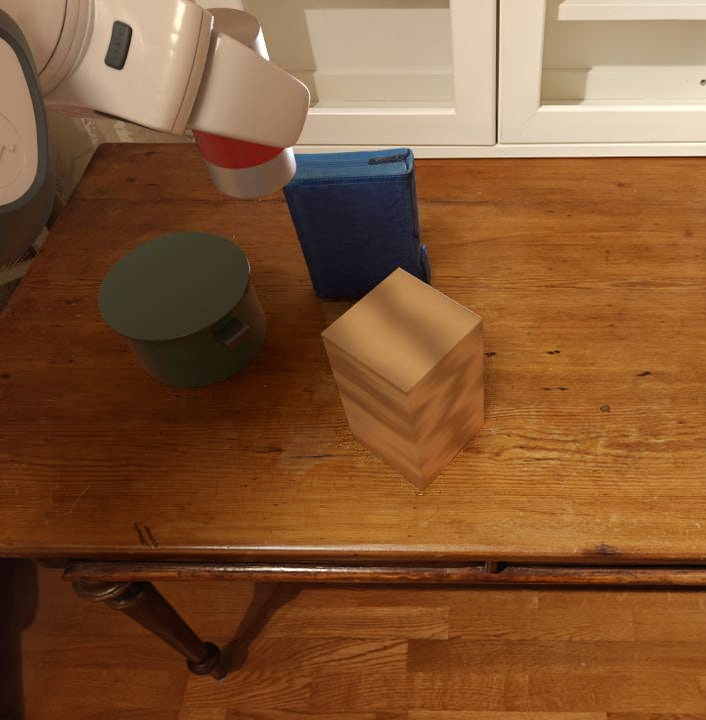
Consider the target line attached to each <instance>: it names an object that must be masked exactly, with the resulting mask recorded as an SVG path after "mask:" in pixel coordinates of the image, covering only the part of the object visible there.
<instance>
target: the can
mask: <svg viewBox="0 0 706 720" xmlns="http://www.w3.org/2000/svg"><path fill="white" fill-rule="evenodd" d="M205 9H206V10H208V11H209V12H210V13H211V14H212V15H213V17H214V20H213V28H215V29H217V30H218V31H220V32H222V33H224V34H226V35H228V36H229V37H231V38H233V39H235V40H237V41H238V42H240V43H242V44H243V45H245V46H247V47H248V48H250V49H251V50H253V51H255V52H256V53H258V54H259V55H261V56H262V57H264V58H266V59H267V60H269V61H270V58H269V54H268V50H267V47H266V43H265V39H264V34H263V32H262V31H263V30H262V28H261V23H260V22H259V19H257V18H256V16H254V15H253V14H252V13H250V12H248V11H245V10H241V9H237V8H233V7H232V8H231V7H210V8H205ZM190 130H191V132H192V135H193V137H194V139H195V142H196V145H197V148H198V150H199V153H200V155H201V156H202V159H203V161H204V164H205V166H206V169H207V172H208V174H209V177H210V180H211V182H212V185H213V186H214V188H215V189H217V191H219V192H220V193H222V194H223V195H225V196H228V197H231V198H235V199H256V198H257V199H258V198H261V197H266V196H268V195H271V194H274V193H276V192H278V191H280V190H281V189H282V188H283V187H284V186H285V185H287V184H288V183H289V182H290V180H291V179H292V178H293V176H294V174H295V172H296V162H295V158H294V154H295V153H294V150H293V146H292V147H290V148H278V147H272V146H267V145H262V144H257V143H252V142H247V141H242V140H237V139H232V138H227V137H223V136H218V135H214V134H209V133H205V132H201V131H197V130H193V129H190Z"/></svg>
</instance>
